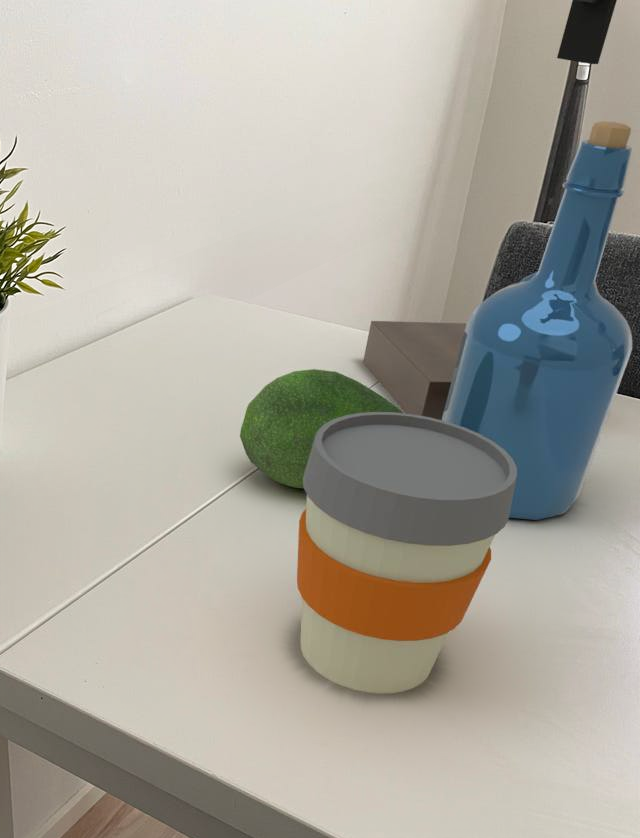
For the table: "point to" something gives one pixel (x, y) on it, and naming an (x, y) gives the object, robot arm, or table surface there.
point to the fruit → (300, 419)
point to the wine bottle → (552, 343)
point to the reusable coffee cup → (394, 543)
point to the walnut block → (415, 362)
